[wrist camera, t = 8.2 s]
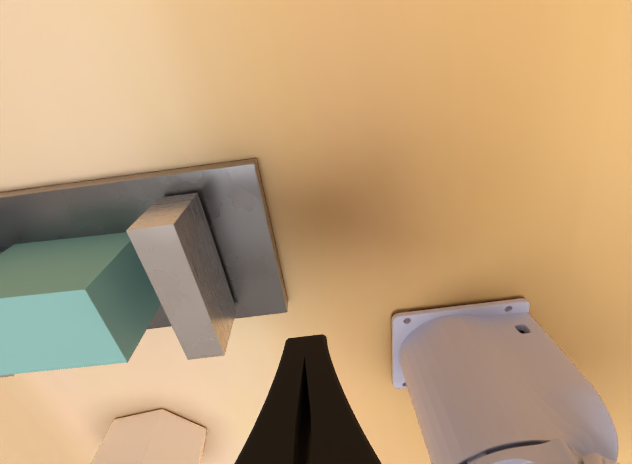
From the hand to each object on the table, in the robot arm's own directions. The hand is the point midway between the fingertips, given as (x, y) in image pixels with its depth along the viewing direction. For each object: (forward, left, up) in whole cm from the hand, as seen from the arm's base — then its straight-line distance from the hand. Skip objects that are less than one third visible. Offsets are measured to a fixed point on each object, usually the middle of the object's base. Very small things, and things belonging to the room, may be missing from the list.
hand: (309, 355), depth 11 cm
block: (+12, 0, -8) cm, 15 cm away
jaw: (+6, 0, -8) cm, 10 cm away
